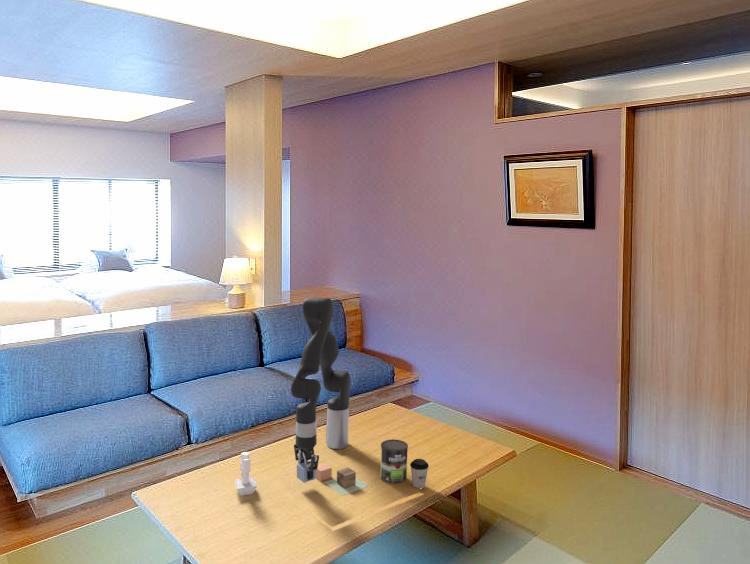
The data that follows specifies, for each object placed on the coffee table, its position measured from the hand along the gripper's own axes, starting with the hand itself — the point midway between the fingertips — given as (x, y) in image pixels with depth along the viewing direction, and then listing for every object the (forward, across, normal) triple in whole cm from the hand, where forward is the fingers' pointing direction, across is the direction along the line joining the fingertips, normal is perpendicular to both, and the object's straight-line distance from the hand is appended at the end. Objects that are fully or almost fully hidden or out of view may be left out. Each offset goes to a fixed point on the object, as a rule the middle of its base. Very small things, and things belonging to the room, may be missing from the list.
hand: (306, 475), depth 210 cm
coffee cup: (+6, +22, +35) cm, 42 cm away
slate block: (+1, 0, 0) cm, 1 cm away
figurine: (+6, -12, -18) cm, 23 cm away
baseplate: (+6, +6, +14) cm, 16 cm away
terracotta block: (+6, -4, +10) cm, 12 cm away
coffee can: (+6, +12, +31) cm, 34 cm away
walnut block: (+5, +6, +14) cm, 16 cm away
